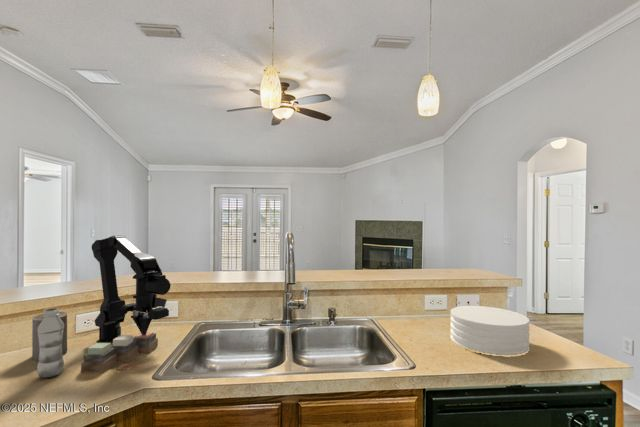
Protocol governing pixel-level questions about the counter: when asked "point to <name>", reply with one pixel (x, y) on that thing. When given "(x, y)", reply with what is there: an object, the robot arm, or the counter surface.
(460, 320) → the plate stack
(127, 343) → the cream button
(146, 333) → the terracotta button
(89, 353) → the sage button
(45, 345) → the plastic bottle
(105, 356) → the button panel
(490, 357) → the counter surface
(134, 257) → the robot arm
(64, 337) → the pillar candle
